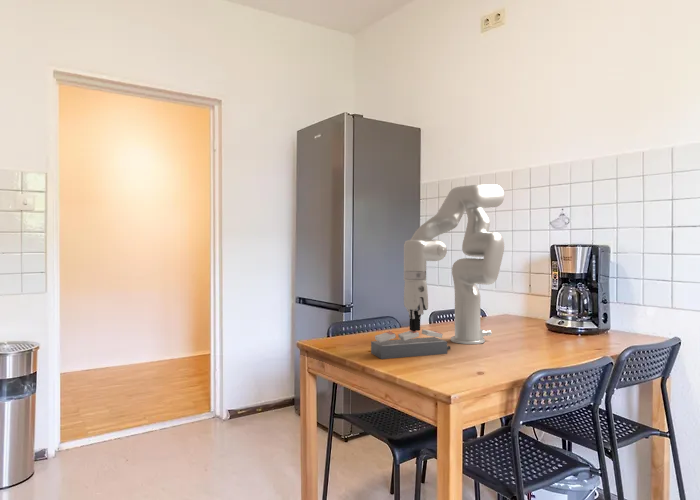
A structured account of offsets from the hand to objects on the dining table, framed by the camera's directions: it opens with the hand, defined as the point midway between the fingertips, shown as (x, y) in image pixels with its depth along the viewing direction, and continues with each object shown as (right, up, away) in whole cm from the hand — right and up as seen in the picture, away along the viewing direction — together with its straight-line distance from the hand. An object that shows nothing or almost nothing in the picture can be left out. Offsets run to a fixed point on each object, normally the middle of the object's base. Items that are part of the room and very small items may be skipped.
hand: (414, 330), depth 165 cm
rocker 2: (-2, -2, -1) cm, 3 cm away
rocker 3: (+6, -2, +2) cm, 7 cm away
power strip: (0, -8, 0) cm, 8 cm away
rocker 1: (-10, -2, -3) cm, 11 cm away
